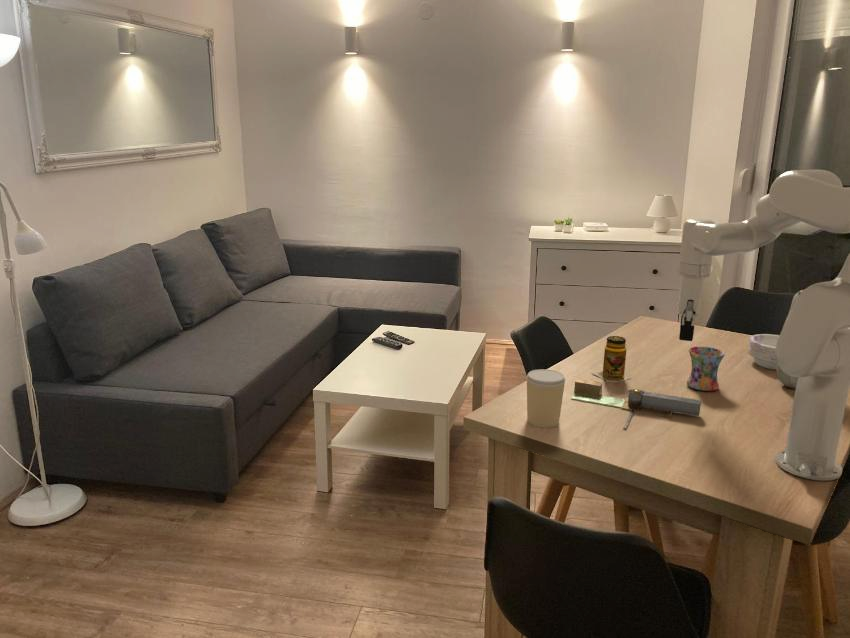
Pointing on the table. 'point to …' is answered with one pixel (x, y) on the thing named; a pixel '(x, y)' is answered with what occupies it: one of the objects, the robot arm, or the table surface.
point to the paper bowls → (764, 350)
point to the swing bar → (664, 402)
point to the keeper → (593, 393)
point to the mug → (704, 368)
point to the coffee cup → (544, 397)
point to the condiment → (614, 360)
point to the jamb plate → (643, 410)
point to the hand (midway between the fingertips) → (686, 334)
